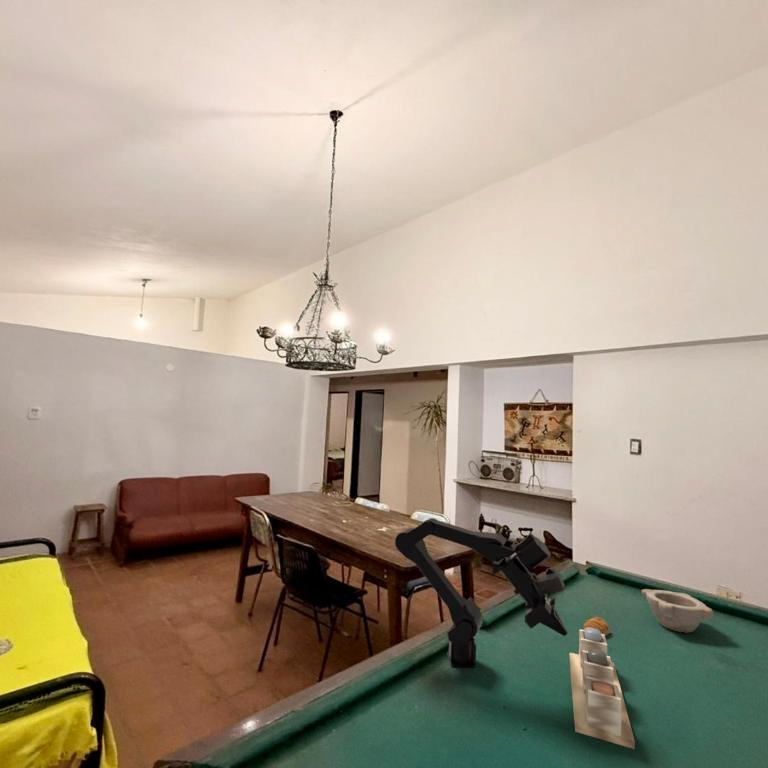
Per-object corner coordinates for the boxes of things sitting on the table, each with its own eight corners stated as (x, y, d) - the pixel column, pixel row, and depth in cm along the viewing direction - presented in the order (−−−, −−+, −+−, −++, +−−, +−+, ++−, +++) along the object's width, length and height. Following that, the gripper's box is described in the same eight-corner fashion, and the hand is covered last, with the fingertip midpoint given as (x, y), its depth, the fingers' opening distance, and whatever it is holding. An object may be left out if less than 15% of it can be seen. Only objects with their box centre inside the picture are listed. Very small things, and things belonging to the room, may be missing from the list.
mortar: (688, 618, 149) (688, 591, 150) (719, 642, 132) (718, 611, 133) (637, 612, 151) (637, 585, 152) (660, 635, 135) (660, 605, 136)
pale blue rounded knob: (584, 650, 113) (585, 632, 113) (583, 643, 116) (584, 626, 117) (601, 654, 111) (601, 636, 112) (600, 646, 115) (600, 629, 115)
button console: (575, 731, 90) (575, 689, 91) (569, 658, 119) (570, 626, 119) (634, 749, 86) (634, 704, 87) (613, 668, 115) (614, 635, 115)
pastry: (599, 642, 129) (599, 629, 129) (577, 633, 133) (577, 621, 134) (611, 633, 135) (611, 621, 135) (589, 625, 140) (589, 613, 140)
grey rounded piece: (588, 674, 102) (588, 655, 102) (587, 665, 105) (587, 647, 106) (607, 679, 100) (607, 659, 100) (605, 670, 104) (605, 651, 104)
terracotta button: (593, 712, 90) (593, 690, 91) (591, 701, 94) (591, 680, 94) (614, 718, 89) (614, 696, 89) (611, 707, 93) (612, 685, 93)
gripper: (540, 571, 99) (592, 632, 94) (547, 550, 116) (592, 602, 110) (505, 598, 102) (553, 659, 97) (517, 574, 119) (559, 625, 113)
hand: (566, 634), depth 104 cm, fingers closed
